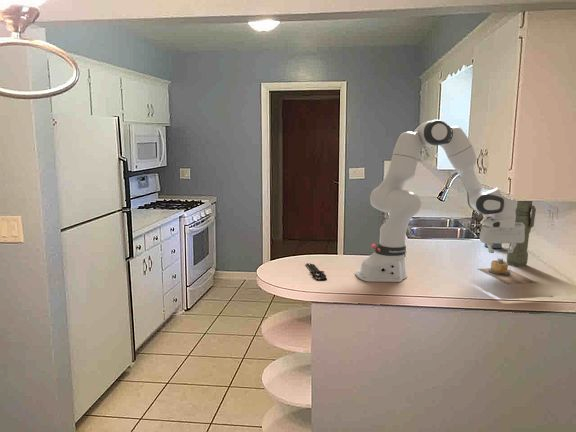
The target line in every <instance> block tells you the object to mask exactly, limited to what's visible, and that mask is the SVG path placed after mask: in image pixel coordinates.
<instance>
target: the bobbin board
mask: <svg viewBox="0 0 576 432" xmlns="http://www.w3.org/2000/svg"><path fill="white" fill-rule="evenodd" d="M496 260H497V263H500V264H503V261H504V259H503V258H497V259H496ZM477 270H478V271H481V272H483V273H484V274H486V275H489V276H491V277H492V278H494V279H497V280H498V281H500V282H502V283H504V284H506V285H518V284H537V283H538V282H537V281H535V280H532V279H531V278H528V277H527V276H524V275H522V274H519V273H517V272H515V271H513V270H512V269H509V268H508V272H507V273H496V272H493V271H491V267H490V268H489V267H487V268H477Z"/></svg>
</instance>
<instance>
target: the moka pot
mask: <svg viewBox="0 0 576 432" xmlns="http://www.w3.org/2000/svg"><path fill="white" fill-rule="evenodd" d="M492 217H494V214H487V215H486V219H489V218H492ZM502 245H503V243H493V245H492V249H501V248H502ZM484 247H486V248H488V246H487V243H484Z"/></svg>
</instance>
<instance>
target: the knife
mask: <svg viewBox="0 0 576 432" xmlns="http://www.w3.org/2000/svg"><path fill="white" fill-rule="evenodd" d="M305 266H306V268H307V269H308V270H309V274H311V275H312V277H313V279H316V281H317V282H323V281H328V278H327V274H325V271H324V270H320V269H319V268H318V267H317V266H316V265H315V264H313V263H310V262H308V263H306V264H305Z"/></svg>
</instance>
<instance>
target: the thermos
mask: <svg viewBox="0 0 576 432" xmlns="http://www.w3.org/2000/svg"><path fill="white" fill-rule="evenodd" d="M536 211H537V209H536V207H535V205H533V200H532V201H518V202H517V208H516V211H515V213H516V220H515V222H522V223H523V224H524V225H525V240H524V242H523V243H516V246H515V248H514V249H513V253H509V252H508V251H507V254H506V262H507V263H508V266H515V267H525V266H527V264H528V259H529V253H528V249H529V237H530V233H531V231H532V228H534V226H535V220H536V219H535V217H536ZM523 224H522V225H523ZM510 246H511V243H509V247H508V248H510Z"/></svg>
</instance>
